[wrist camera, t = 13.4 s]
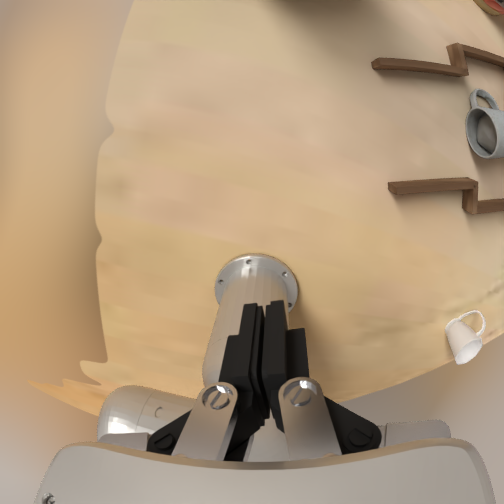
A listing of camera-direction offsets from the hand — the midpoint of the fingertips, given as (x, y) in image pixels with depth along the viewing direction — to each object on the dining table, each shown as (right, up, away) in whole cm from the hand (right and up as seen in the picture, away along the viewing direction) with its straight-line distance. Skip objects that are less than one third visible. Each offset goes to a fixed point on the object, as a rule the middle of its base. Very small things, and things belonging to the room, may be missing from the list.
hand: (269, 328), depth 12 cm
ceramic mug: (+35, +23, +16) cm, 45 cm away
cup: (+41, -11, +32) cm, 53 cm away
